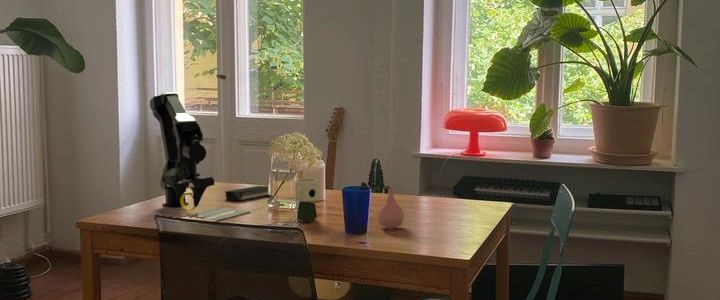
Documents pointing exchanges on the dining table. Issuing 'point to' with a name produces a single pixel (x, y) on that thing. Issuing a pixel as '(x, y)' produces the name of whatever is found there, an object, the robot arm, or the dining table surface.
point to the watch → (183, 201)
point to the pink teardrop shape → (390, 212)
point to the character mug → (306, 198)
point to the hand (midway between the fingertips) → (189, 205)
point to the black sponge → (247, 193)
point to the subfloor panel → (219, 213)
